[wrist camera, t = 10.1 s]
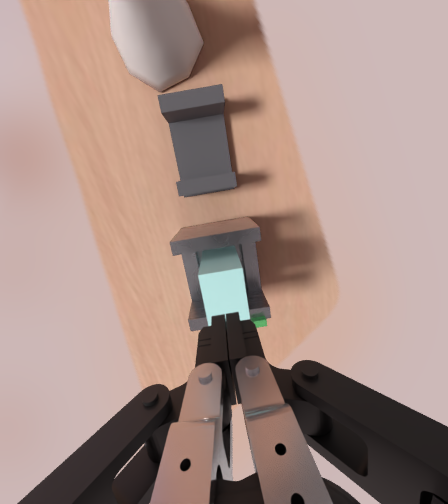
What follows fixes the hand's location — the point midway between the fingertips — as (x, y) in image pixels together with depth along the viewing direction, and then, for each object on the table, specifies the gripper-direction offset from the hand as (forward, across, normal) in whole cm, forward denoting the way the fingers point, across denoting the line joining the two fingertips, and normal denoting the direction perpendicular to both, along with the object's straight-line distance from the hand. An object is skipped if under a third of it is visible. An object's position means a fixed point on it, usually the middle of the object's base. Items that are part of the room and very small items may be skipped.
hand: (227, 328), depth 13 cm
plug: (+11, 0, 0) cm, 11 cm away
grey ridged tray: (+13, 0, -11) cm, 17 cm away
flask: (+13, +2, -20) cm, 24 cm away
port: (+13, 0, 0) cm, 13 cm away
